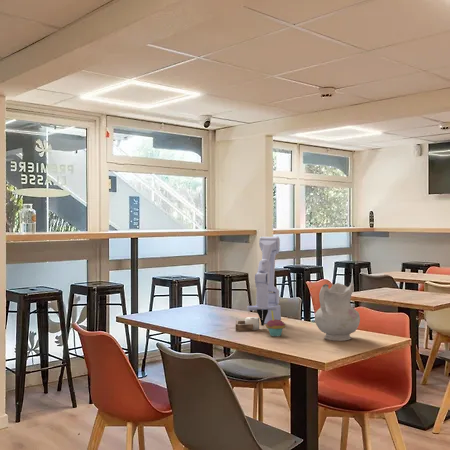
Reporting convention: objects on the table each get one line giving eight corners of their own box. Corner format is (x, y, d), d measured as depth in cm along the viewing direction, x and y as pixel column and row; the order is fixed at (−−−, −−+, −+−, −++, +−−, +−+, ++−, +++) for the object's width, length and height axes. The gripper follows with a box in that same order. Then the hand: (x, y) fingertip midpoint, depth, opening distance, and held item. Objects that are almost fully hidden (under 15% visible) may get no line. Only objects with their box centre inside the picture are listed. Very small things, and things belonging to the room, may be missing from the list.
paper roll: (258, 327, 276) (258, 316, 276) (259, 329, 269) (259, 319, 269) (244, 327, 276) (244, 316, 276) (245, 330, 269) (245, 319, 269)
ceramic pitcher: (347, 348, 233) (351, 288, 232) (303, 339, 244) (307, 282, 243) (364, 339, 252) (368, 283, 251) (323, 331, 262) (326, 278, 261)
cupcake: (272, 337, 250) (272, 310, 250) (262, 334, 258) (262, 308, 258) (288, 335, 254) (288, 309, 254) (278, 332, 262) (278, 306, 262)
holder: (252, 326, 278) (252, 320, 278) (252, 330, 267) (252, 324, 267) (235, 326, 278) (235, 320, 278) (235, 330, 267) (235, 324, 267)
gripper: (247, 298, 268) (247, 326, 268) (278, 298, 268) (278, 326, 268) (247, 296, 275) (247, 324, 275) (276, 296, 275) (277, 324, 275)
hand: (262, 325), depth 272 cm, fingers closed
